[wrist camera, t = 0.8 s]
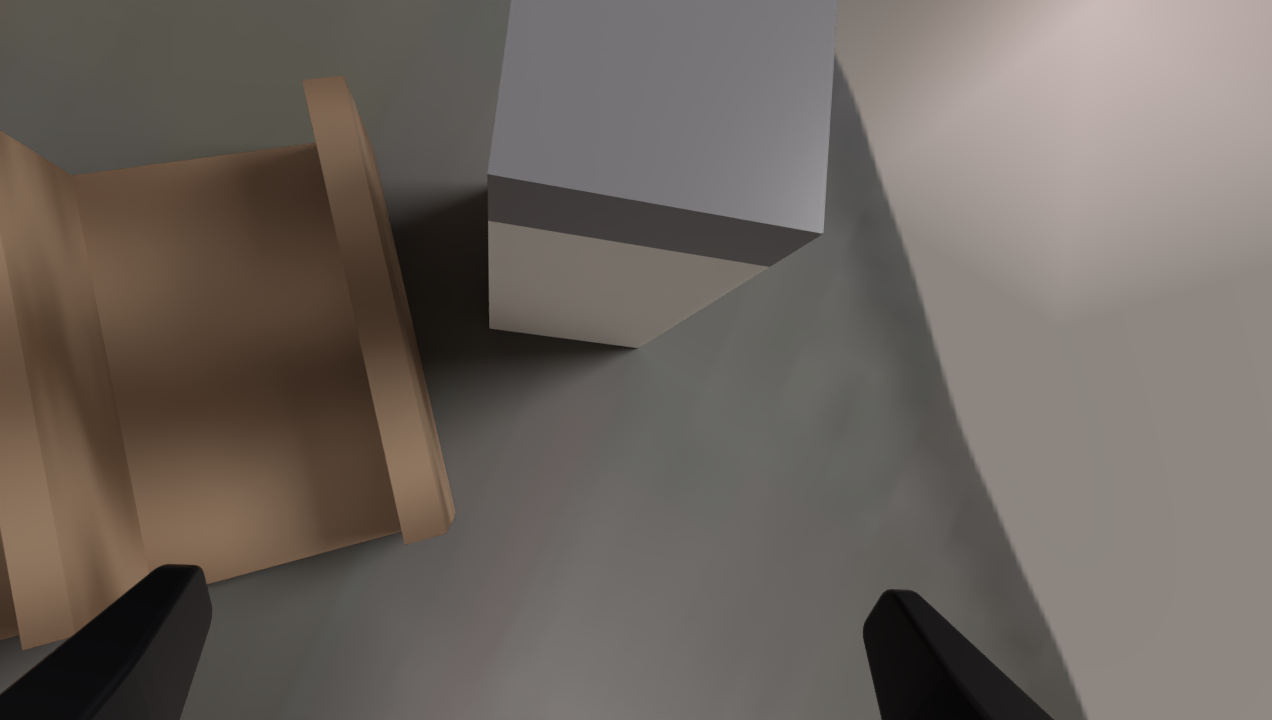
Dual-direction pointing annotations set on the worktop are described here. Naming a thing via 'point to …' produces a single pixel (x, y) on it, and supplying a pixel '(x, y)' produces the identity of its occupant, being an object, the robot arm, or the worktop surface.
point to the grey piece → (652, 158)
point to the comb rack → (203, 371)
